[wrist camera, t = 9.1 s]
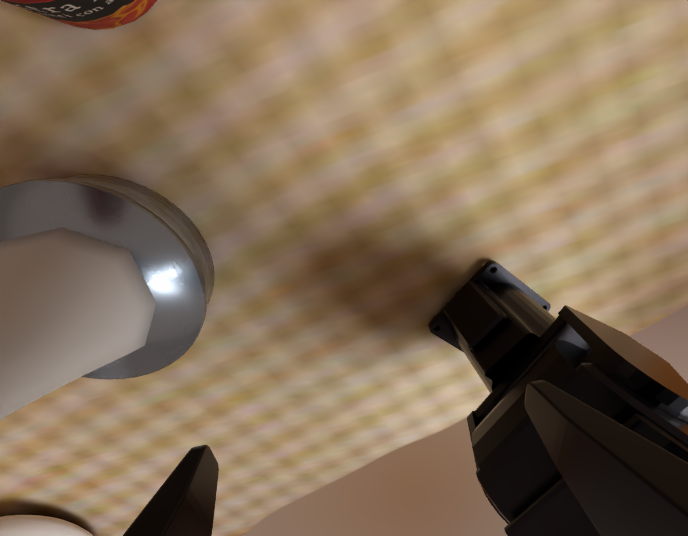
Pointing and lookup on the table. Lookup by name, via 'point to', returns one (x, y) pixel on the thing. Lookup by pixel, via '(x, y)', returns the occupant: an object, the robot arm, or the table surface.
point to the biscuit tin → (135, 236)
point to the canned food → (88, 11)
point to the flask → (65, 311)
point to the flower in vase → (38, 526)
